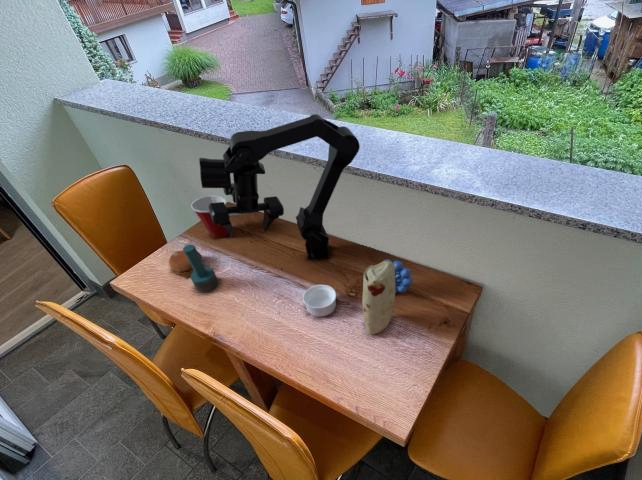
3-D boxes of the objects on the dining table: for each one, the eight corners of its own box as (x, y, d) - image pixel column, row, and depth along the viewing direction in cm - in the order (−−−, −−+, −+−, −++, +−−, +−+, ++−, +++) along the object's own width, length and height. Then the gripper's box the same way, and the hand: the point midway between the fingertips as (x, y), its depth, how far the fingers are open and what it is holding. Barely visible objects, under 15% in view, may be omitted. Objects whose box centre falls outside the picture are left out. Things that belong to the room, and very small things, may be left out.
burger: (198, 277, 104) (192, 266, 101) (168, 277, 104) (160, 266, 101) (209, 256, 111) (203, 245, 107) (180, 257, 111) (174, 245, 108)
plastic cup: (243, 229, 121) (232, 199, 112) (219, 246, 114) (206, 215, 106) (222, 220, 125) (210, 190, 116) (197, 236, 119) (183, 205, 110)
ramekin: (323, 290, 100) (322, 279, 96) (344, 306, 95) (343, 295, 92) (299, 306, 95) (296, 295, 92) (319, 324, 91) (317, 313, 88)
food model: (377, 343, 87) (377, 286, 72) (357, 330, 89) (353, 273, 75) (399, 319, 92) (404, 262, 77) (379, 308, 95) (380, 250, 80)
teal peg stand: (223, 283, 102) (206, 246, 92) (204, 296, 99) (184, 258, 89) (210, 275, 105) (192, 237, 95) (192, 286, 102) (171, 249, 91)
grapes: (417, 290, 99) (421, 257, 90) (406, 305, 95) (409, 273, 86) (382, 276, 103) (382, 244, 94) (370, 290, 99) (369, 258, 91)
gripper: (271, 166, 97) (271, 212, 108) (199, 171, 88) (207, 220, 100) (285, 189, 91) (283, 235, 103) (210, 197, 83) (217, 246, 94)
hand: (248, 233), depth 100 cm, fingers open, 9 cm apart
